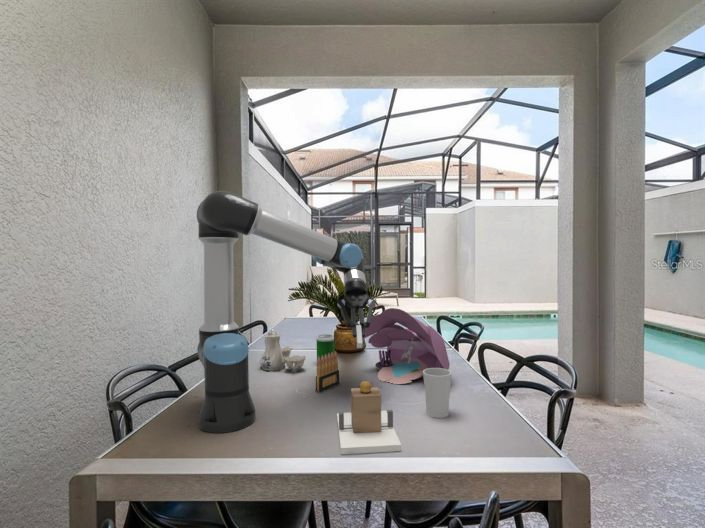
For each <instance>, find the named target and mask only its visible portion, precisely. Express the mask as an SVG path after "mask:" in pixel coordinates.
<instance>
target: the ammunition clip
mask: <svg viewBox="0 0 705 528" xmlns="http://www.w3.org/2000/svg"><path fill="white" fill-rule="evenodd" d="M338 384H339V385H340V370H339V362H338V353H337V350H334V354H333V352H332V353H331V357H330V353H328V357H327V355H326V354H325V357H323V355H322V356H321V360H320V357H319V356H318V360H317V359H316V376H315V392H316V391H317V393H322V392H324V390H325V391H326V390H329V389H332V388H334V387H336V386H338ZM335 385H336V386H335ZM333 386H334V387H333ZM331 387H332V388H331Z"/></svg>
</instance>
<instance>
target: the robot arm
mask: <svg viewBox="0 0 705 528" xmlns="http://www.w3.org/2000/svg"><path fill="white" fill-rule="evenodd" d="M197 207H198V208H197V210H196V220H197V223H198V240H199V241H200V242H201V243H202V244H203V276H204V277H203V288H204V289H203V293H204V294H203V295H204V296H203V297H204V301H203V302H204V303H203V307H204V313H203V314H204V319H203V320H204V322H203V324H202V325H200V327H199V329H198V332H199V333H198V337H199V338H198V339H199V341H198V344H197V350H196V351H197V356H198V359H199V361H200V363H201V364H202V367H203V371H204V398H203V401H202V404H201V409H200V411H199V415H198V427H199V429H201V430H202V431H204V432H207V433H215V434H216V433H219V434H220V433H229V432H230V433H231V432H234V431H238V430H241V429H244V428H246V427H248V426H250V425H252V424H253V423H254V422H255V420H256V419H257V415H256V414H257V413H256V411H257V410H256V407H255V404H254V402H253V398H252V395H251V392H250V387H249V383H250V379H249V349H250V348H249V344H248V339H247V338H246V337H245V336H244V335H242V334H240V333H239V332H240V331H239V330H240V326H239V325H238V324H237V323H236V322H235V319H234V317H235V315H234V313H235V312H234V308H235V307H234V304H235V303H234V302H235V300H234V298H235V297H234V290H235V289H234V286H235V285H234V245H235V243H236V242H238V241H239V234H242V235H244V236H250V235H254V236H258V237H260V238H263V239H266V240H268V241H271V242H274V243H277V244H279V245H282V246H285V247H288V248H290V249H293V250H296V251H298V252H302V253H304V254H307V255H309V256H311V258H312V260H313V261H314V262H316V263H318V264H319V265H323V266H325V267H328V268H331V269H333V270H336V271H338V272H339V273H340V272H341V273H342V274H343V284H344V285H343V286H344V296H343V299H337V308H338V309H339V310H340V313H341V315H342V318H343V321H344V323H345V326H346V328H348V329H351V331H352V332H351V333H352V337H353V338H356V339H355V340H356V348H357V349H363V339H362V337H365V328H369V326H370V321H371V317H373V311H374V308H375V307H376V303H377V300H376V299H370V297H369V295H368V292H367V291H368V290H367V281H366V273H365V260H364V256H363V252H362V248H360V247H359V245H357V244H355V243H351V242H347V243H346V242H343V241H341V240H338V239H336V238H334V237H331V236H329V235H326V234H324V233H322V232H319V231H316V230H314V229H312V228H309V227H306V226H305V225H304V226H303V225H302V224H299V223H297V222H293V221H292V220H289V219H286V218H285V217H282V216H279V215H276V214H274V213H272V212H269V211H267V210H264V209H262V208H261V206H260V204H258V203H257V202H254V201H252V200H250V199H247V198H246V197H244V196H241V195H239V194H236V193H233V192H231V191H228V190H217V191H213V192H211V193H209V194H208V195H207V196H206V197H204V199H203V200H202V201H201V202H200V204H199V205H198V206H197ZM367 304H368V305H367ZM346 306H347V307H348V308H349V309H350V316H351V320H350V317H349V314H348V310H347V308H346ZM366 306H368V311H367V316H366V321H365V313H364V309H365V307H366ZM356 310H357V311H358V317H359V320H358V321H359V324H357V313H356Z"/></svg>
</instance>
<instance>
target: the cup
mask: <svg viewBox="0 0 705 528" xmlns="http://www.w3.org/2000/svg"><path fill="white" fill-rule="evenodd" d="M422 378H423V383H424V394H425V406H426V409H425V411H426V415H427V416H428V417H432V418H435V419H444V418H447V417H448V416H450V414H449V413H450V410H449V408H450V396H451V381H452V371H451V370H449V369H448V370H447V369H442V368H428V369H425V370H423V376H422Z"/></svg>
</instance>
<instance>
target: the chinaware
mask: <svg viewBox="0 0 705 528" xmlns="http://www.w3.org/2000/svg"><path fill="white" fill-rule="evenodd" d="M264 337H265V338H264V344H265V345H264V346H265V349H264V353H263V355H262V356H261V358H260V362H259V364H260V366H261V367H262V370H263V369H264V370H263V371H266V370H269V371H268V372H271V371H272V372H275V371H274V370H276V371H280V370H282V369H284V366H285V364H286V366H287V368H288V369H289V370H290V371H291V373H297V371H298V372H300V369H302V368H303V366H304V363H305V360H306V358H307V357H306V356H305V355H302V356H300V355H298V354H294V355H292V356H290V355H291V352H292V350H293V348H290V346H284V347H281V346H280V345H281V344H280V340H281V334H280V333H277V332H276V331H275V329H274V328H272V329H270V332H268V334H265V335H264ZM279 369H280V370H279Z"/></svg>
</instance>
